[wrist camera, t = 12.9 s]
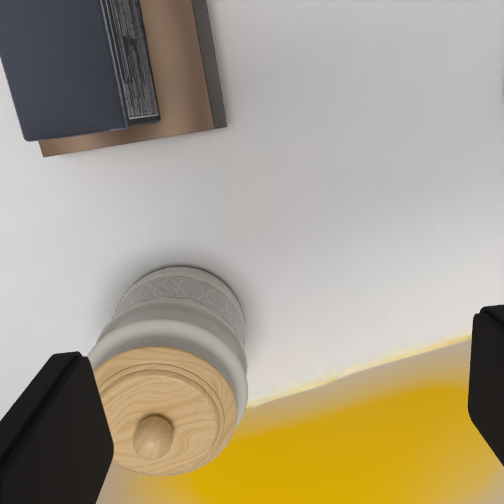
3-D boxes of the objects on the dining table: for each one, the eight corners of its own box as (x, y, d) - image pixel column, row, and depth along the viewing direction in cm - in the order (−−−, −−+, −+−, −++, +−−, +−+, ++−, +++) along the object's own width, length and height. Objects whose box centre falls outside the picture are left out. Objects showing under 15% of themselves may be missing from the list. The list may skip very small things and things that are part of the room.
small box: (44, -19, 30) (-50, -82, 20) (135, -31, 30) (85, -100, 20) (82, 133, 33) (17, 144, 24) (163, 123, 33) (132, 129, 24)
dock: (199, -44, 33) (194, -64, 30) (227, 125, 38) (226, 127, 34) (13, -12, 34) (-15, -28, 30) (62, 152, 38) (43, 157, 34)
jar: (130, 379, 46) (69, 535, 29) (108, 268, 42) (22, 375, 25) (249, 369, 46) (257, 519, 29) (239, 257, 42) (242, 357, 25)
